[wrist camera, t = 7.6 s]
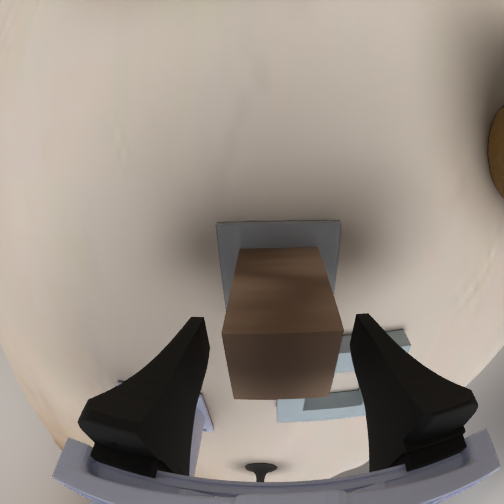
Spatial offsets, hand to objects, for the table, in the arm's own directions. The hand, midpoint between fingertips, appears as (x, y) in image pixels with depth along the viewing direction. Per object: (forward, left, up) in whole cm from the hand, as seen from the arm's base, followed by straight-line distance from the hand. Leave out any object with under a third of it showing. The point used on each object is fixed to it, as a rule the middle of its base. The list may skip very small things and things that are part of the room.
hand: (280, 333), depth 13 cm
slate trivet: (0, 0, -5) cm, 5 cm away
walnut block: (0, 0, -5) cm, 5 cm away
